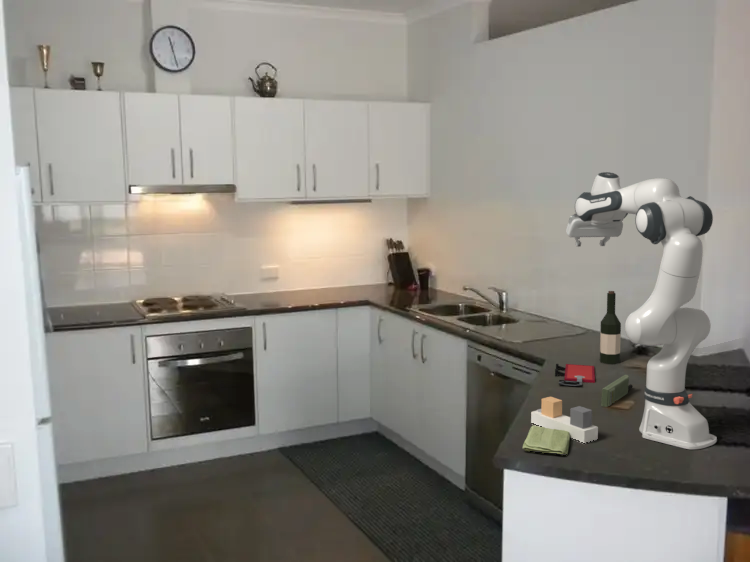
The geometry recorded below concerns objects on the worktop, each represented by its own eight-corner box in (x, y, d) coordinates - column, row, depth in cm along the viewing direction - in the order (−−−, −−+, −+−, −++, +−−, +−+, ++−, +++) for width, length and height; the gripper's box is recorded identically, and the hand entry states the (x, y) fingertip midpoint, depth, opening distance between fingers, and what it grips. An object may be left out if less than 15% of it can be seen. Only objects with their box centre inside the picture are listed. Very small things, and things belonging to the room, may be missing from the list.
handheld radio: (599, 406, 259) (626, 388, 278) (608, 408, 257) (634, 390, 276) (600, 387, 257) (627, 371, 277) (609, 389, 255) (636, 372, 274)
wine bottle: (622, 360, 315) (624, 290, 310) (617, 365, 308) (619, 293, 304) (602, 358, 320) (604, 289, 315) (596, 362, 313) (598, 292, 308)
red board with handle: (553, 386, 282) (594, 389, 278) (553, 379, 281) (595, 382, 278) (556, 366, 310) (594, 369, 306) (556, 360, 310) (594, 362, 306)
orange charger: (561, 421, 238) (562, 400, 237) (553, 424, 236) (553, 402, 235) (550, 417, 242) (550, 396, 241) (541, 420, 240) (541, 398, 239)
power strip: (597, 439, 228) (598, 424, 227) (584, 443, 224) (584, 429, 224) (544, 419, 246) (544, 406, 245) (531, 423, 242) (531, 410, 242)
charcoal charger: (591, 432, 228) (592, 410, 227) (582, 435, 226) (583, 412, 225) (578, 427, 232) (579, 405, 231) (570, 430, 230) (570, 408, 229)
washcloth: (520, 452, 218) (521, 441, 218) (529, 432, 235) (530, 422, 234) (566, 459, 214) (567, 448, 214) (572, 438, 230) (573, 428, 230)
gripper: (573, 218, 266) (565, 250, 274) (628, 217, 269) (618, 249, 277) (567, 209, 271) (560, 241, 279) (621, 208, 274) (612, 240, 282)
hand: (589, 245), depth 278 cm, fingers open, 8 cm apart
